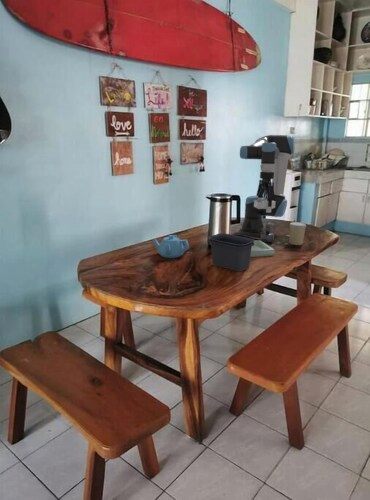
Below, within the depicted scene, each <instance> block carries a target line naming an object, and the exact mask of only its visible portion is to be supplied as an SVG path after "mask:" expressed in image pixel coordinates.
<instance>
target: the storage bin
mask: <svg viewBox="0 0 370 500" xmlns="http://www.w3.org/2000/svg"><path fill="white" fill-rule="evenodd" d="M254 241H255V239H254V238H249V237H243V236H239V235H235V234H231V233H230V234H229V233H223V232H221V233H216V234H213V235H209V236H208V242H209V243H210V245H211V246H210V247H211V248H210V249H211V250H210V251H211V260H212V261H211V264H212V265H213V266H216V267H219V268H225V269H227V270H228V269H229V270H231V271H235V272H242V271H245V270H247V269H248V268H249V267H250V260H251V257H250V254H251V248H252V246H253V245H254Z"/></svg>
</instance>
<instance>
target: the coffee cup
mask: <svg viewBox="0 0 370 500" xmlns="http://www.w3.org/2000/svg"><path fill="white" fill-rule="evenodd" d="M306 228H307V225H306V223H304V222H296V221H294V222H290V224H289V234H288V235H289V239H288V241H289V244H290V245H292V246H293V245H295V246H301V245H303V243H304V238H305V233H306Z"/></svg>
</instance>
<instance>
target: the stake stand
mask: <svg viewBox="0 0 370 500" xmlns="http://www.w3.org/2000/svg"><path fill="white" fill-rule="evenodd" d="M271 228H272V224H271V223H270V222H268V223H266V224H265V231H262V232H260V240H261V241H262V242H264V243H265V244H267V245H268V244H269V245H272V244H274V243H275V242H274V241H275V233H273V232H271Z"/></svg>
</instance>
